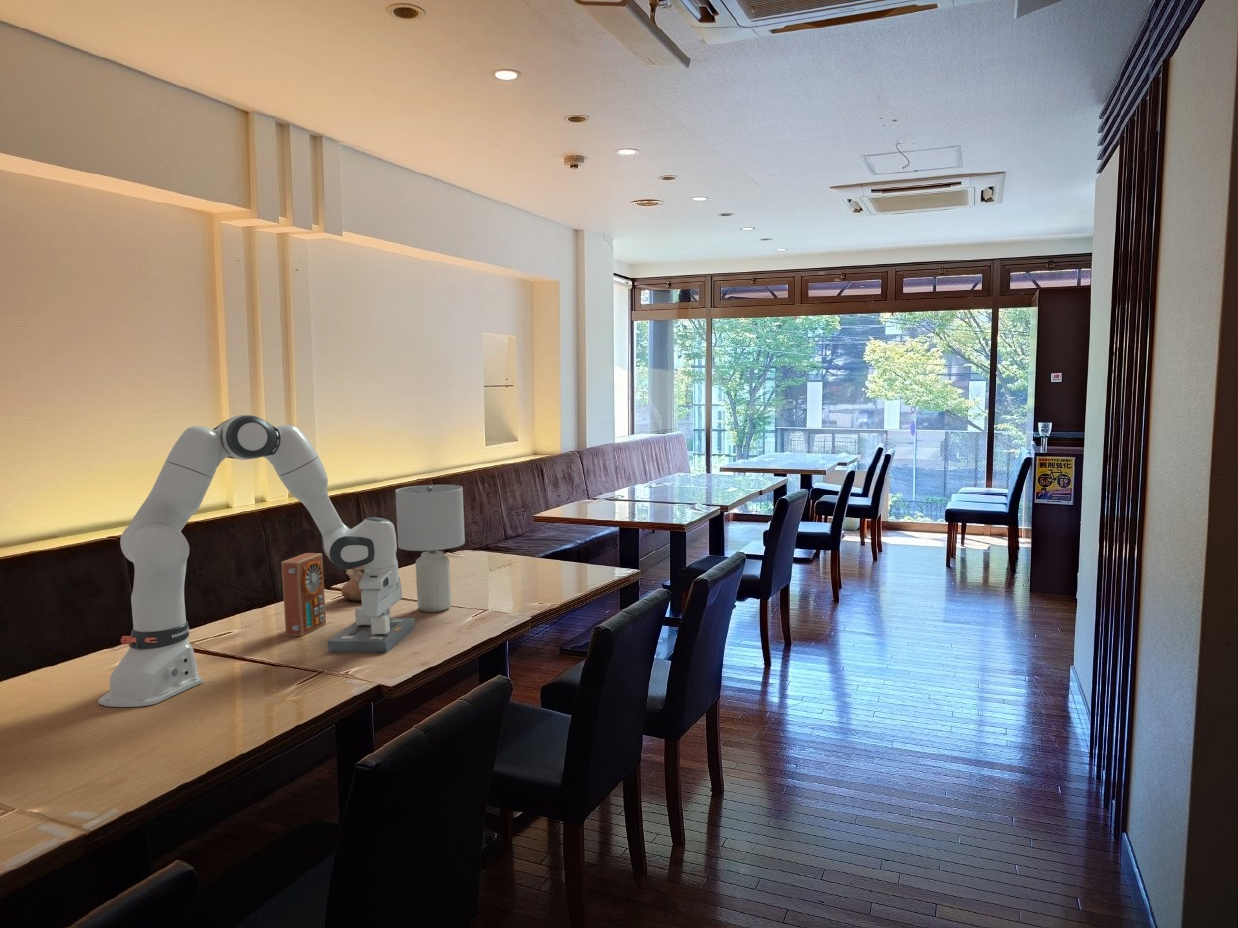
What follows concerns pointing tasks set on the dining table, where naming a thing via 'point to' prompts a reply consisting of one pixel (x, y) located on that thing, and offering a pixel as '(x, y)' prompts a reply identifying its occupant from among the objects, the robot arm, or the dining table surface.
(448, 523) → the lamp
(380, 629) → the block
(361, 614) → the block
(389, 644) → the breaker box
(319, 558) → the control panel
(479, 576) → the dining table surface
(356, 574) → the ceramic jug
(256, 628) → the dining table surface
